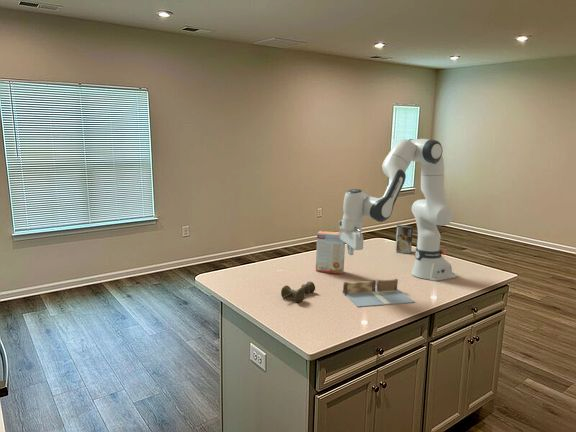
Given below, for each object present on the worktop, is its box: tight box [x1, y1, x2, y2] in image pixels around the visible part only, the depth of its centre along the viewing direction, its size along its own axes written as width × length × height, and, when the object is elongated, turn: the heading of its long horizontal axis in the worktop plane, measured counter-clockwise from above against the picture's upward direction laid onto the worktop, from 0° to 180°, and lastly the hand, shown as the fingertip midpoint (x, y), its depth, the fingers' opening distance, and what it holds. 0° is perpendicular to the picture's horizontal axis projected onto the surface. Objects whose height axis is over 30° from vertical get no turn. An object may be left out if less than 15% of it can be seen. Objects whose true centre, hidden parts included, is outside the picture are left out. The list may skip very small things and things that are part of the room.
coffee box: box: [394, 224, 414, 254], centre depth 269 cm, size 9×6×16 cm
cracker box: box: [315, 230, 346, 275], centre depth 228 cm, size 14×6×21 cm, turn 71°
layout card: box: [341, 278, 416, 308], centre depth 196 cm, size 27×18×6 cm, turn 104°
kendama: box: [280, 281, 316, 304], centre depth 193 cm, size 6×10×20 cm
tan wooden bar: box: [342, 279, 377, 294], centre depth 199 cm, size 16×2×5 cm, turn 104°
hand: (350, 254), depth 202 cm, fingers closed
